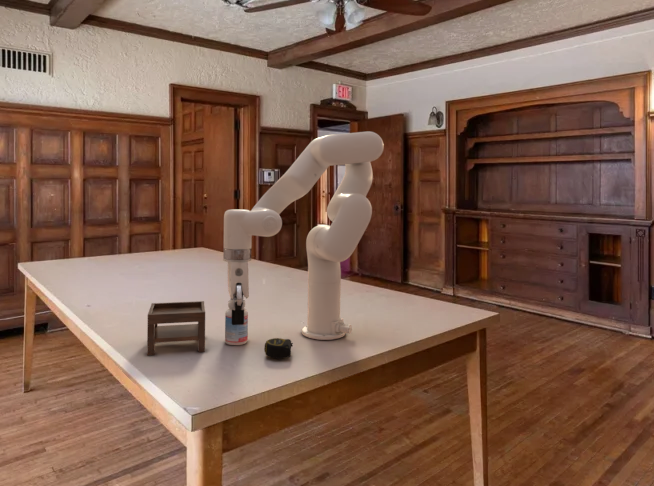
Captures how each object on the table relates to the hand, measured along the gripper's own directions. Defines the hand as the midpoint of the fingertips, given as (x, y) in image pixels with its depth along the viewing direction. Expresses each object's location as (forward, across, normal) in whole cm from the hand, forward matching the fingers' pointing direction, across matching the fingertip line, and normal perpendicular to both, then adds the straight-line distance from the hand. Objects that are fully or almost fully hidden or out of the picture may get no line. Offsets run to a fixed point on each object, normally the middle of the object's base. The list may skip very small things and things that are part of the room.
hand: (236, 320), depth 126 cm
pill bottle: (+6, 0, 0) cm, 6 cm away
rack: (+6, 0, +16) cm, 17 cm away
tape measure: (+6, -13, -10) cm, 17 cm away
